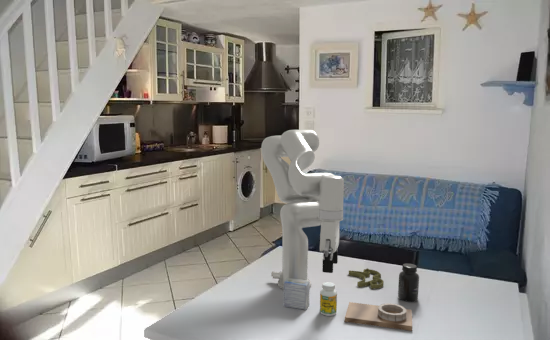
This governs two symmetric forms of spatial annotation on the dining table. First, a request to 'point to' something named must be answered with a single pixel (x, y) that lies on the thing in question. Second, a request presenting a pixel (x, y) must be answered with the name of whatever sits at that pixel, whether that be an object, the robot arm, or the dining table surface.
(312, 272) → the dining table surface
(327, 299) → the supplement bottle
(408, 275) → the supplement bottle
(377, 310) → the collar board
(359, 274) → the cookie cutter
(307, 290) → the medicine box
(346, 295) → the dining table surface
